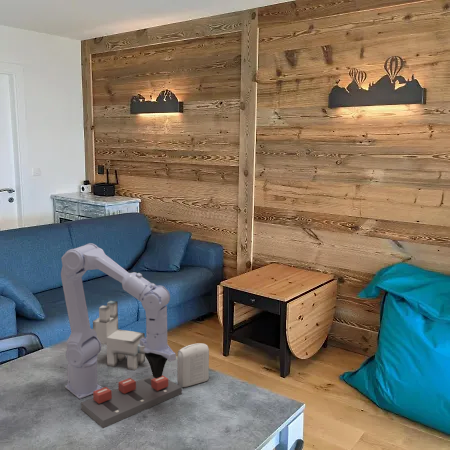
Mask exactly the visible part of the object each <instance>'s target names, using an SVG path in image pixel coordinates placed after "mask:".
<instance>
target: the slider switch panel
mask: <svg viewBox="0 0 450 450" xmlns="http://www.w3.org/2000/svg"><path fill="white" fill-rule="evenodd" d="M151 379H154V377H153V374H152V375H149V376H146V377H144V378H142V379H139V380H137V381H136V380H135V381H136V389H135V390H132V391H130V392H127V393H125V394H124V393H122V392H121V391H119V388H115V389H112V390H111V391H112V399H110V400H107V401H105V402H102V403H100V404H98V403H97V402H96V401H95V400H93V398H90V399H87V400H85V401H81V403H80V406H81V407H80V408H81V409H80V410H82V412H84V413H85V414H86V415H87V416H88V417H90V418H91V419H92V420H93V421H95V422H96V423H97V424H98V426H101V427H102V429H103V428H106V427H109V426H110V425H113V424H115V423H117V422H120V421H123V420H124V419H127V418H129V417H131V416H134V415H136V414H138V413H141V412H142V411H145V410H147V409H150V408H151V407H154V406H156V405H159V404H161V403H163V402H165V401H168V400H170V399H172V398H175V397H177V396H179V395H182V394H183V393H182V391H183V389H182V388H183V387H180V386H179V385H178V383H176V382H173V381H172V380H170V379H169V378H168V387H165V388H163V389H161V390H158V391H157V390H155V389H154V388H152V387H151Z"/></svg>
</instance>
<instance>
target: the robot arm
mask: <svg viewBox="0 0 450 450" xmlns="http://www.w3.org/2000/svg"><path fill="white" fill-rule="evenodd" d="M61 265H62V267H61V270H60V279H61V284H62V289H63V294H64V300H65V305H66V311H67V315H68V316H67V317H68V322H69V327H70V331H71V332H70V335H69V337H68V339H67V340H66V352H65V356H66V357H65V358H66V361H67V362H68V363H67V366H66V367H67V368H66V371H67V373H66V374H67V384H65V385H64V387H65V389H67V390H68V391H69V392H70V393H71V394H73V395H74V396H75V398H76V397H77V399H79V400H80V399H83V398H86V397H88V396H91V395H93V391H96V390H99V389H101V388H104V387H103V386H101V385H100V384H98V381H99V380H98V358H99V353H101V350H102V344H101V342H100V340H99V339H98V337H97V333H96V331H94V330H93V328H91V323H90V319H89V312H88V306H87V302H86V296H85V291H84V285H83V284H84V283H83V276H84V275H85V274H86V272H87V271H92V270H99V271H101V272H103V273H104V274H106V275H107V276H109V277H110V278H112V279H114V280H115V281H118V282H119V283H120V284H121V286H122V290H124V291H125V292H127V294H129V295H131V296H132V297H133V298H135V299H137V300H138V301H139V302H140V303H141V305H142V306H141V307H143V310H144V311H145V321H146V322H145V326H146V328H145V329H146V332H145V333H146V336H145V338H142V339H140V346H144V347H145V348H144V352H146V353H145V359H146V360H147V362H148V364H149V366H150V369H151V370H150V371H151V373H152V375H153V377H154V378H156V379H157V378H159V377H162V375H163V372H164V369H165V366H166V363H167V361H168V362H173V361H176V359H177V353H176V352H175V351H173V349H172V348H171V347H170V346H169V344H168V306H167V305H168V304H169V303H170V300H171V293H170V291H169V290H168V289H167V288H166V287H165V286H164V285H157V284H155V283H154V282H150V281H149V280H148V279H146V278H144V277H143V274H142V273H140V272H138V273H137V272H136V271H135V272H128V271H127V270H126V269H125V268H123V267H122V266H121V265H119V264H118V263H117V262H116V261H114V260H113V259H112V258H111V257H110V256H109V255H106V253H105V251H104V249H102V248H100V247H99V246H98V245H96V244H95V243H91V242H89V243H86V244H84V245H81V246H78V247H75V248H71V249H68V250H66V252H65V253H64V254H63V255H62V257H61Z"/></svg>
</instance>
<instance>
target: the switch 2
mask: <svg viewBox="0 0 450 450" xmlns="http://www.w3.org/2000/svg"><path fill="white" fill-rule="evenodd" d="M117 387H118V388H119V391H121V392H122V393H124V394H125V393H127V392H130V391H132V390H135V389H136V380H134V379H133V378H132V377H129V378H126V379H123V380H121V381H118V386H117ZM118 388H117V389H118Z"/></svg>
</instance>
